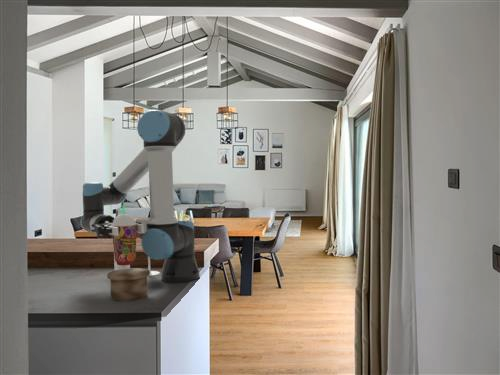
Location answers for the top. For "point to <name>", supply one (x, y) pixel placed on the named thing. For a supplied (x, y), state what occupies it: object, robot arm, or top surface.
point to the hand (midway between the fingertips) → (130, 230)
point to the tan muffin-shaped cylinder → (128, 284)
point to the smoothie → (125, 239)
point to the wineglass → (143, 222)
